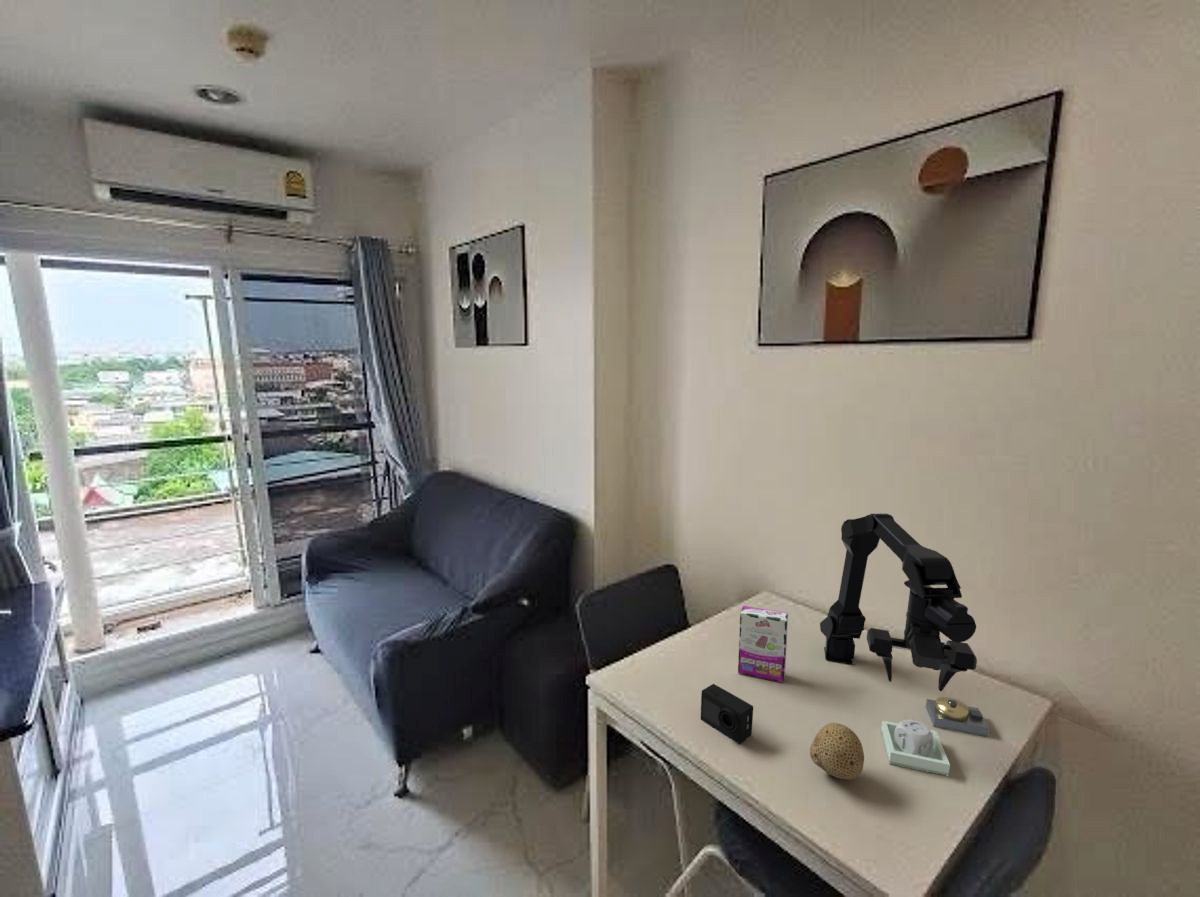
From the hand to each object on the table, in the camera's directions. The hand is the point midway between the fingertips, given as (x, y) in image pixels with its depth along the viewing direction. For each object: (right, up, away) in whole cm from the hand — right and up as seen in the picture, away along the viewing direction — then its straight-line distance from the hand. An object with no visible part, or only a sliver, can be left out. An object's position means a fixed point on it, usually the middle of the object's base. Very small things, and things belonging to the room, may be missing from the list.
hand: (914, 685), depth 112 cm
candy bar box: (-25, -8, +24) cm, 35 cm away
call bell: (+13, -11, +6) cm, 18 cm away
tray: (-2, -12, -3) cm, 13 cm away
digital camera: (-39, -11, +4) cm, 40 cm away
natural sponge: (-20, -13, -10) cm, 26 cm away
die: (-2, -12, -3) cm, 12 cm away
